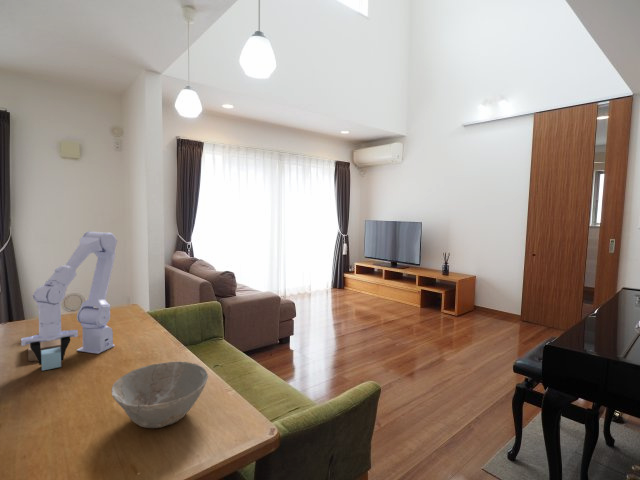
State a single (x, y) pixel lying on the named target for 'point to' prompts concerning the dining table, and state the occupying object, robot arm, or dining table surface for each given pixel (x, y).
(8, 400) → the dining table surface
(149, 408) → the ceramic bowl
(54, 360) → the blue cube
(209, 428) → the dining table surface
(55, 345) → the walnut block
